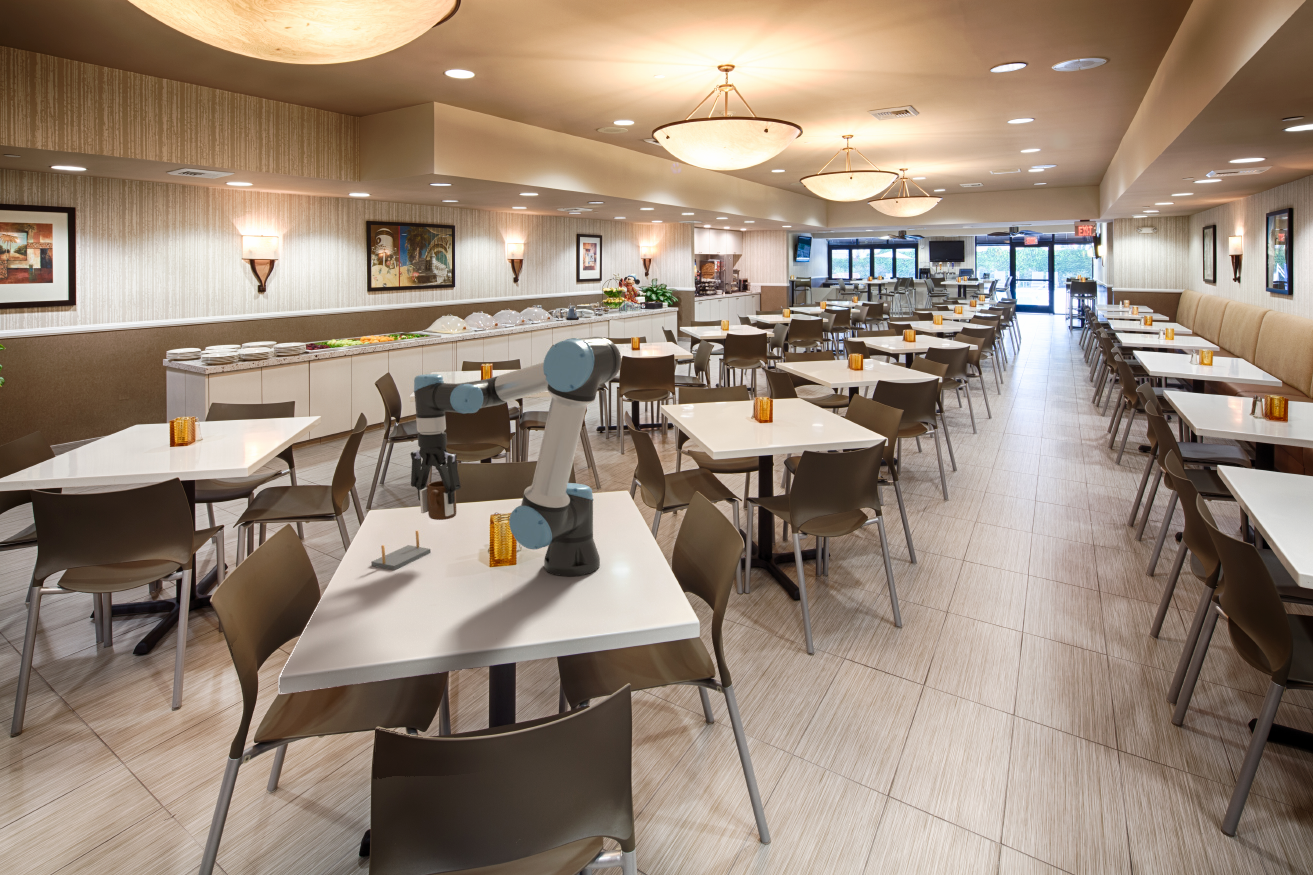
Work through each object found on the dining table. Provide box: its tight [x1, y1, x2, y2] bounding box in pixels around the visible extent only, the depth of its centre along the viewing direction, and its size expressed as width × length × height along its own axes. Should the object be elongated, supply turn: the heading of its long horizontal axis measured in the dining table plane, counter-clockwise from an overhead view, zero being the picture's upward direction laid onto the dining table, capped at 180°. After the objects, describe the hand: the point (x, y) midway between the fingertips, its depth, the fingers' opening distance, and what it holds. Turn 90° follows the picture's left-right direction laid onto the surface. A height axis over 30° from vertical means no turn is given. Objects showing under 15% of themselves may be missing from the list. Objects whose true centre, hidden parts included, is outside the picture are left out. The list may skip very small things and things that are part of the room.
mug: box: [426, 480, 457, 521], centre depth 201 cm, size 12×8×9 cm, turn 178°
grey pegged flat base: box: [371, 530, 432, 571], centre depth 204 cm, size 8×15×6 cm, turn 158°
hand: (437, 513), depth 201 cm, fingers closed on mug, 7 cm apart
